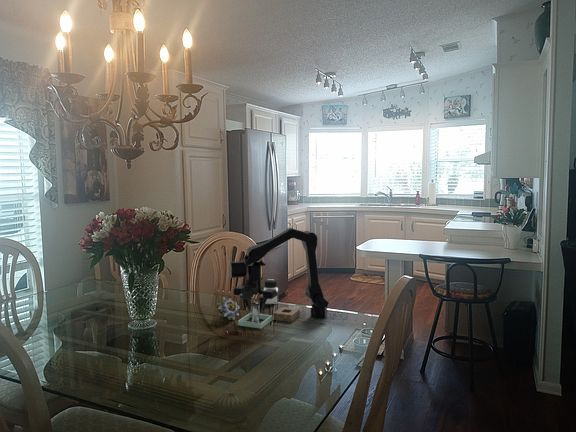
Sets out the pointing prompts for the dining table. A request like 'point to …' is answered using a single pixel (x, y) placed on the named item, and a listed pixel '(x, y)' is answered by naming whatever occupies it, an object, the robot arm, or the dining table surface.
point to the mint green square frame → (244, 322)
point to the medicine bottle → (271, 285)
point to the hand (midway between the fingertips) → (255, 311)
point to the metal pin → (255, 312)
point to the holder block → (286, 314)
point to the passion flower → (228, 308)
